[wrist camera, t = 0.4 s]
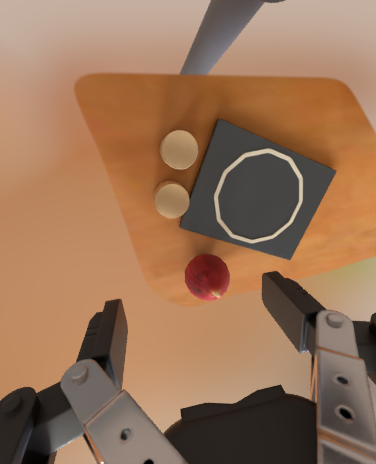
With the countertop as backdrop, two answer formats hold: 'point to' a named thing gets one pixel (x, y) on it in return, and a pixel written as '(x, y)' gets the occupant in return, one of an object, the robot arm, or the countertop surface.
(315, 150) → the countertop surface
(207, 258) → the onion
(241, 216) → the slate board
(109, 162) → the countertop surface
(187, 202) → the dot
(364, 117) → the countertop surface
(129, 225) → the countertop surface
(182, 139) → the dot
